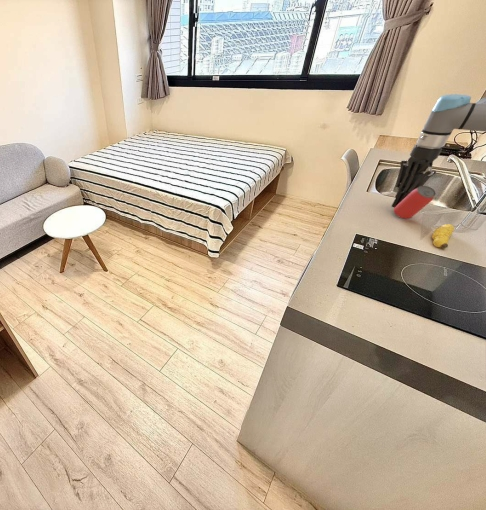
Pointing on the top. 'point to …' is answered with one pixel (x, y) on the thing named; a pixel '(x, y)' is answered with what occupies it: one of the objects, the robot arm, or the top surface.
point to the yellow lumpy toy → (442, 235)
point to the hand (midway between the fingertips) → (396, 206)
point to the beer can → (414, 202)
